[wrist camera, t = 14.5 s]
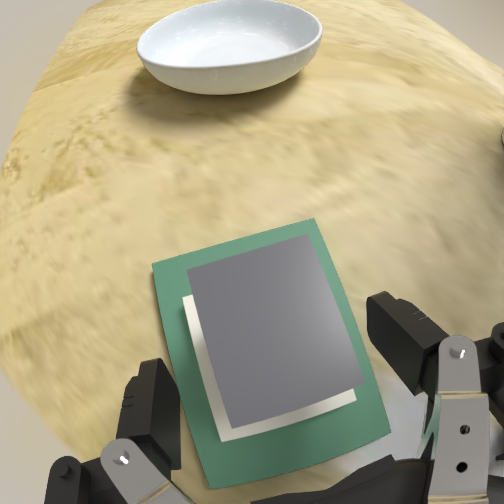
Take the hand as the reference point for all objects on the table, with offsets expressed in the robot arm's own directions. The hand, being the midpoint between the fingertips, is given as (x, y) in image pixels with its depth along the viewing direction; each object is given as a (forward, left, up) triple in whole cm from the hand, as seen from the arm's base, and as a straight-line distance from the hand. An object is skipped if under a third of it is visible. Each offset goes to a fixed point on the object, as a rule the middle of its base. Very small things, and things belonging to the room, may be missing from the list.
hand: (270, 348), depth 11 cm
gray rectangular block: (0, 0, -7) cm, 7 cm away
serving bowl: (-28, -16, -9) cm, 34 cm away
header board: (0, 0, -9) cm, 9 cm away
